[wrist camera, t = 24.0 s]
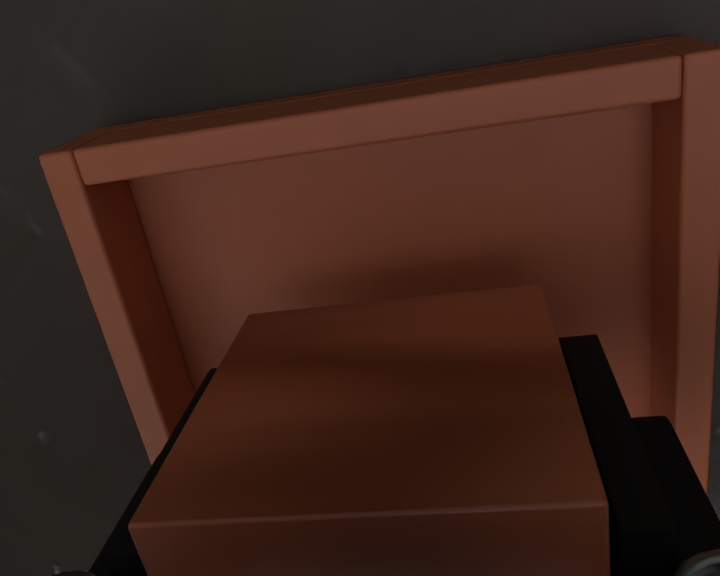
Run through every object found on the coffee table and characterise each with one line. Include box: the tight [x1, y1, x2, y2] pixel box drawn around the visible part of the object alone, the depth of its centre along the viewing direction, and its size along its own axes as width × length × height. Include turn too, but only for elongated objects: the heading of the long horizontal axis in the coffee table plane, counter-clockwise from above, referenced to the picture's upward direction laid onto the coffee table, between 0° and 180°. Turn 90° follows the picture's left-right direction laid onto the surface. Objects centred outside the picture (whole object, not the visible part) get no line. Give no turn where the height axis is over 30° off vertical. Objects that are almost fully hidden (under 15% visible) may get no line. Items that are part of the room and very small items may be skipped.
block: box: [128, 284, 611, 576], centre depth 9 cm, size 4×4×4 cm
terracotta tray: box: [39, 35, 720, 495], centre depth 13 cm, size 10×10×2 cm
